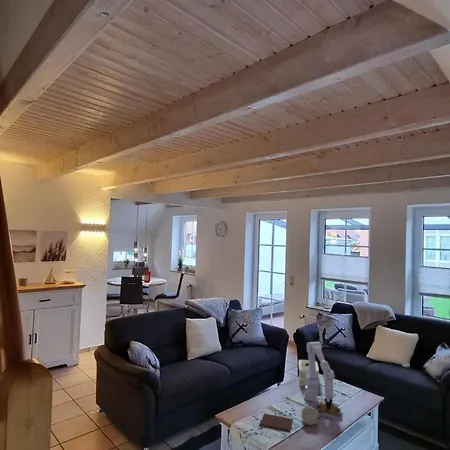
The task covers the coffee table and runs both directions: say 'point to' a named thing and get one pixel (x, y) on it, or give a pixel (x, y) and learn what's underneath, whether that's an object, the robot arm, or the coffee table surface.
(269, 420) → the notebook
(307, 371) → the storage basket
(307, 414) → the teacup
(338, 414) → the board
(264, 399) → the coffee table surface
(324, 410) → the tan wooden block
